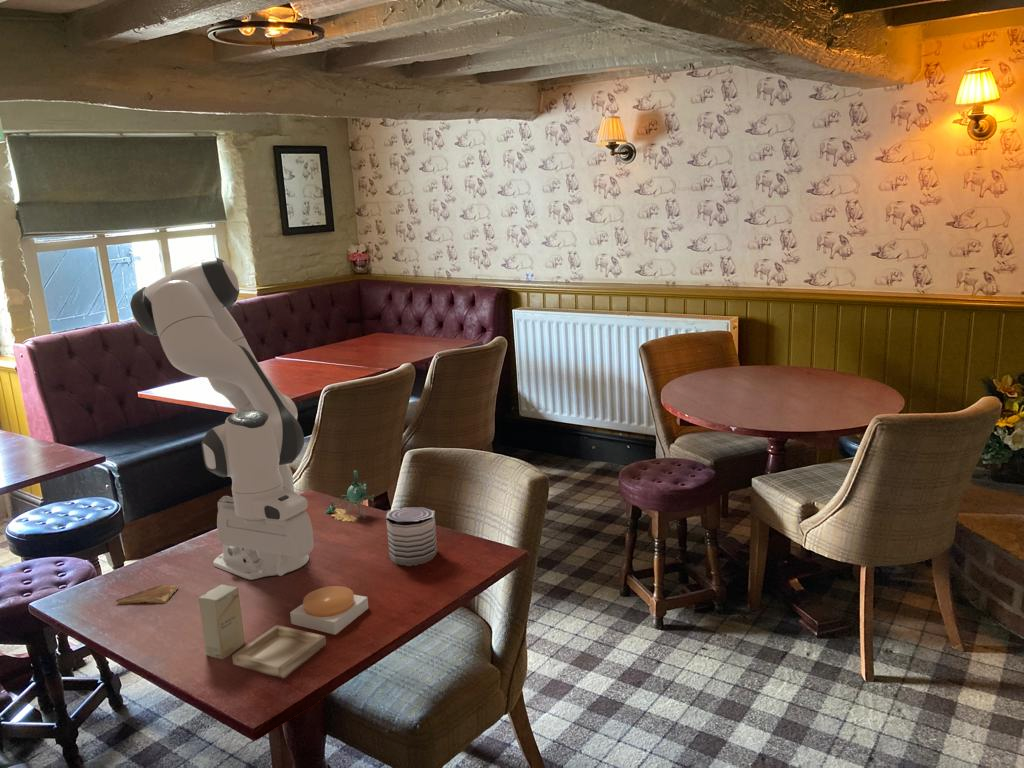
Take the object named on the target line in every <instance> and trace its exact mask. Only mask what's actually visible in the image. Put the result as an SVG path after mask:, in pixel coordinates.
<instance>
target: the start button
mask: <svg viewBox="0 0 1024 768" xmlns="http://www.w3.org/2000/svg"><path fill="white" fill-rule="evenodd" d="M354 595H355V593H354V591H353V590H352V589H350V588H349V587H346V586H341V585H329V586H324V587H319V588H317V589H315V590H313V591H312V590H311V591H310V592H309V593H306V595H305V596H304V598H303V601H302V604H304V610H305V612H306V613H307V614H309V615H312V616H318V617H326V616H333V615H337V614H340V613H342V612H345V611H346V610H348V609H349V608H351V607H352V606H353V604H354Z"/></svg>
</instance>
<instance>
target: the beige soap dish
mask: <svg viewBox="0 0 1024 768" xmlns="http://www.w3.org/2000/svg"><path fill="white" fill-rule="evenodd" d="M326 640H327V639H326V635H323V634H318V633H314V632H309V631H306V630H305V631H304V630H301V629H296V628H292V627H287V626H284V625H278V624H276V625H274V626H273V627H272V628H269V629H268V630H267V631H266V632H264V633H263V634H261V635H259V636H258V637H256V638H255V639H254V640H252V641H250V643H248V644H246V645H245V646H243V648H241V649H239V650H238V651H236V652H235V653H233V654H231V657H232V658H231V659H232V664H233V665H234V666H238V667H241V668H245V669H249V670H252V671H256V672H258V673H263V674H265V675H269V676H273V677H276V678H279V679H282V680H283V679H285V678H287V677H288V676H289V675H291V674H292V673H293V672H294V671H296V670H297V669H298V668H299V667H300V666H302V665H303V664H304V663H305V662H306V661H307V662H308V660H309V659H310V658H311V657H313V656H314V655H315V654H316V653H318V652H319V651H320V650H322V649H323V648H324V647H325V646H326V645H327V641H326Z"/></svg>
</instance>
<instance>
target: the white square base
mask: <svg viewBox="0 0 1024 768" xmlns="http://www.w3.org/2000/svg"><path fill="white" fill-rule="evenodd" d="M368 599H369V598H368V596H365V595H364V596H363V595H358V594H354V604H353V606H352V607H351V608H349V609H348V610H346V611H345V612H342V613H340V614H337V615H333V616H326V617H318V616H312V615H309V614H307V613H306V612H305V610H304V604H303V603H302V604H301V605H298V606H297V607H296V608H294V609H293V610H292V611H290V612H289V614H290V616H289V617H290V622H291V623H290V624H291V625H295V626H299V627H303V628H306V629H311V630H316V631H318V632H323V633H327V634H331V635H334V636H336V635H337V634H339V633H340V632H341V631H342V630H343V629H344V628H346V627H347V626H348V625H350V624H351V623H352V622H353V621H354V620H356V619H357V618H358V617H359V616H361V615H362V614H363V613H364V612H366V611H367V610H368V609H369V600H368Z"/></svg>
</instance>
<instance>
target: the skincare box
mask: <svg viewBox="0 0 1024 768" xmlns="http://www.w3.org/2000/svg"><path fill="white" fill-rule="evenodd" d="M198 604H199V611H200V618H201V619H200V620H201V626H202V633H203V642H204V648H205V655H206V656H208V657H212V658H216V659H220V660H224V659H225V658H227V657H229V656H230V655H232V653H234V652H235V651H237V650H238V649H239V648H241V647H242V646H243V645H245V643H246V640H245V632H244V622H243V616H242V615H243V614H242V609H241V601H240V595H239V586H234V585H231V584H230V585H229V584H224V583H221V584H219V585H217V586H216V587H214V588H212V589H210V590H208V591H207V592H205V593H204V594H202V595H200V596H199V597H198Z"/></svg>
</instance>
